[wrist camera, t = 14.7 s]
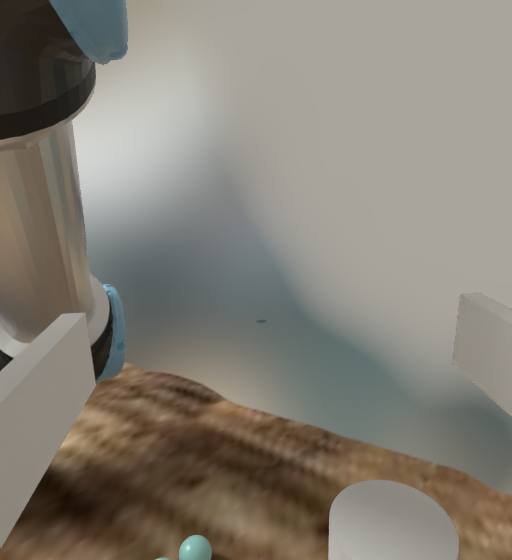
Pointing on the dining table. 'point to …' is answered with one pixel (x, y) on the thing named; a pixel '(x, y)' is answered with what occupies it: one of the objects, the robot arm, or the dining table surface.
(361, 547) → the cup
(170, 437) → the dining table surface
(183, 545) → the marble
